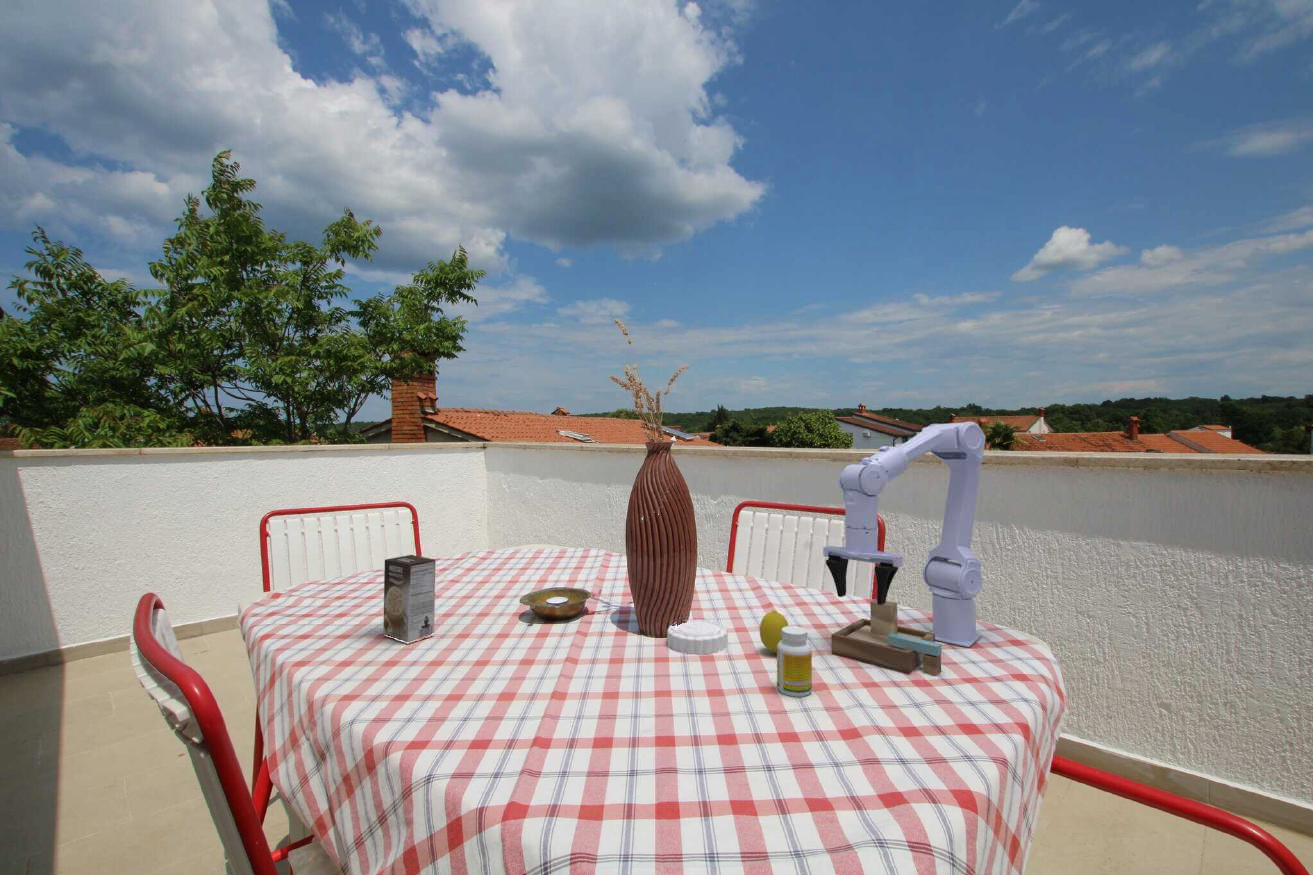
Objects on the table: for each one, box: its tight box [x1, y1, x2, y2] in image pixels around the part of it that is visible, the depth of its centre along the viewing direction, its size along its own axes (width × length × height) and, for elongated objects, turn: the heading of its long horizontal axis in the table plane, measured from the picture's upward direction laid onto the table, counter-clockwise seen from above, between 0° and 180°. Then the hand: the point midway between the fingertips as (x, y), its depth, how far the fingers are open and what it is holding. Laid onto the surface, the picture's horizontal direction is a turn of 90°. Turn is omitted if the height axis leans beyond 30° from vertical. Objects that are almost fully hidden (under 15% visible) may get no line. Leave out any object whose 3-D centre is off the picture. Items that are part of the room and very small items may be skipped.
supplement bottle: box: [776, 625, 813, 698], centre depth 87 cm, size 5×5×10 cm
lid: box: [847, 598, 923, 650], centre depth 103 cm, size 11×11×7 cm
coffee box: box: [382, 554, 437, 642], centre depth 113 cm, size 9×6×16 cm
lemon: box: [759, 610, 790, 654], centre depth 103 cm, size 6×6×8 cm
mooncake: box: [666, 619, 729, 656], centre depth 109 cm, size 12×12×4 cm
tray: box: [830, 618, 942, 677], centre depth 102 cm, size 14×18×4 cm
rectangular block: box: [887, 633, 943, 656], centre depth 96 cm, size 2×8×2 cm, turn 46°
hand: (861, 599), depth 103 cm, fingers open, 7 cm apart
